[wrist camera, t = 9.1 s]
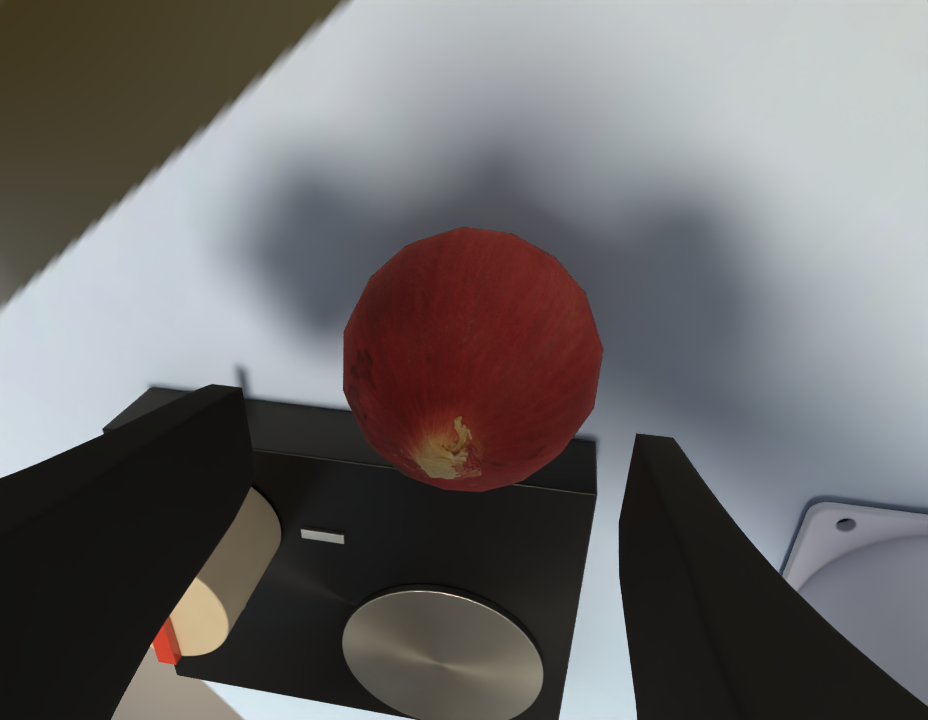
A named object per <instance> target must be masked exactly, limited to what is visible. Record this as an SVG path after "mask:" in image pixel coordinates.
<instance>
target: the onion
mask: <svg viewBox="0 0 928 720" xmlns="http://www.w3.org/2000/svg"><path fill="white" fill-rule="evenodd" d="M602 353H603V347H602V344H601V341H600V338H599V335H598V331H597V328H596V325H595V322H594V319H593V315H592V312H591V309H590V306H589V303H588V299H587V296H586V293H585V292H584V290H583V289H582V288H581V287H580V286H579V285H578V283H577V282H576V281H575V280H574V279H573V278H572V276H571V275H570V274H569V273H568V272H567V271H566V269H565V268H564V267H563V266H562V265H561V264H560V262H559V261H558V260H557V259H556V258H555V257H554V256H552V255H550V254H548V253H546V252H545V251H543V250H541V249H539V248H537V247H536V246H534V245H532V244H530V243H528V242H527V241H525V240H523V239H521V238H520V237H518V236H516V235H514V234H512V233H505V232H497V231H490V230H483V229H475V228H468V227H462V228H458V229H455V230H452V231H448V232H445V233H441V234H438V235H435V236H431V237H428V238H425V239H421V240H418V241H416V242H414V243H411V244H409V245H407V246H405V247H404V248H403V249H401V250H400V251H399V252H398V253H397V254H396V255H395V256H394V257H393V258H391V259H390V260H389V261H388V262H387V263H386V264H385V265H384V266H383V267H381V268H380V269H379V270H378V271H377V272H376V273H375V274H374V275H373V276H372V277H370V279H369V281H368V283H367V285H366V287H365V289H364V291H363V293H362V295H361V297H360V299H359V301H358V303H357V305H356V307H355V309H354V311H353V313H352V314H351V317H350V319H349V321H348V323H347V325H346V328H345V330H344V353H343V391H344V394H345V396H346V399H347V401H348V404H349V406H350V408H351V410H352V412H353V414H354V416H355V418H356V420H357V422H358V424H359V427H360V429H361V431H362V433H363V435H364V437H365V439H366V441H367V442H368V444H369V445H370V446H371V447H372V448H373V449H374V450H375V451H376V452H378V453H379V454H380V455H381V456H382V457H383V458H385V459H386V460H387V461H388V462H389V463H390V464H392V465H393V466H394V467H395V468H396V469H398V470H399V471H400V472H401V473H402V474H403V475H405V476H407V477H410V478H413V479H415V480H418V481H421V482H424V483H427V484H430V485H432V486H435V487H438V488H441V489H444V490H457V491H472V492H483V491H486V490H490V489H494V488H498V487H502V486H506V485H510V484H514V483H517V482H520V481H523V480H524V479H526V478H527V477H529V476H530V475H532V474H533V473H534V472H536V471H537V470H539V469H540V468H542V467H543V466H545V465H546V464H548V463H549V462H551V461H552V460H553V459H554V458H556V457H557V456H558V455H559V454H561V453H562V451H563V450H564V449H565V447H566V446H567V445H568V443H569V442H570V441H571V439H572V438H573V436H574V435H575V434H576V432H577V431H578V430H579V428H580V427H581V425H582V424H583V423H584V421H585V420H586V419H587V417H588V416H589V414H590V413H591V412H592V410H593V409H594V405H595V398H596V392H597V385H598V379H599V373H600V366H601V360H602Z"/></svg>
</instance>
